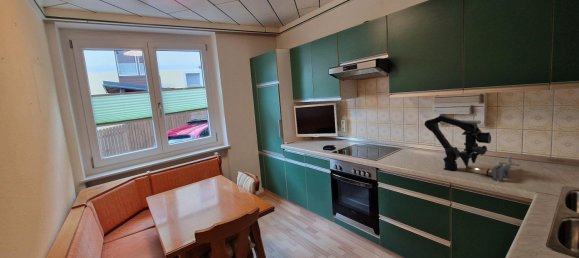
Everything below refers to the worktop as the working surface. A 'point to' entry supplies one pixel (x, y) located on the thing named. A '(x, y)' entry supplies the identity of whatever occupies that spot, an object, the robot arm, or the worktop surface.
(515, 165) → the pipe connector
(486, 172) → the tube
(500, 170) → the firebox collars
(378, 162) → the worktop surface
